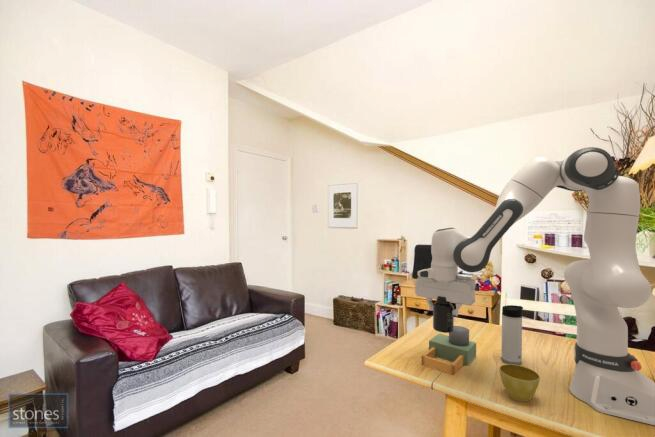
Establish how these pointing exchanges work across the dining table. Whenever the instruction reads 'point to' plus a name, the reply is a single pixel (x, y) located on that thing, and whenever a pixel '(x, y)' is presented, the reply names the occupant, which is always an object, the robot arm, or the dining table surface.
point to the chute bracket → (441, 362)
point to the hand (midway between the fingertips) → (443, 313)
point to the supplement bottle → (443, 315)
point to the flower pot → (519, 381)
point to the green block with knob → (454, 345)
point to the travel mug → (512, 334)
